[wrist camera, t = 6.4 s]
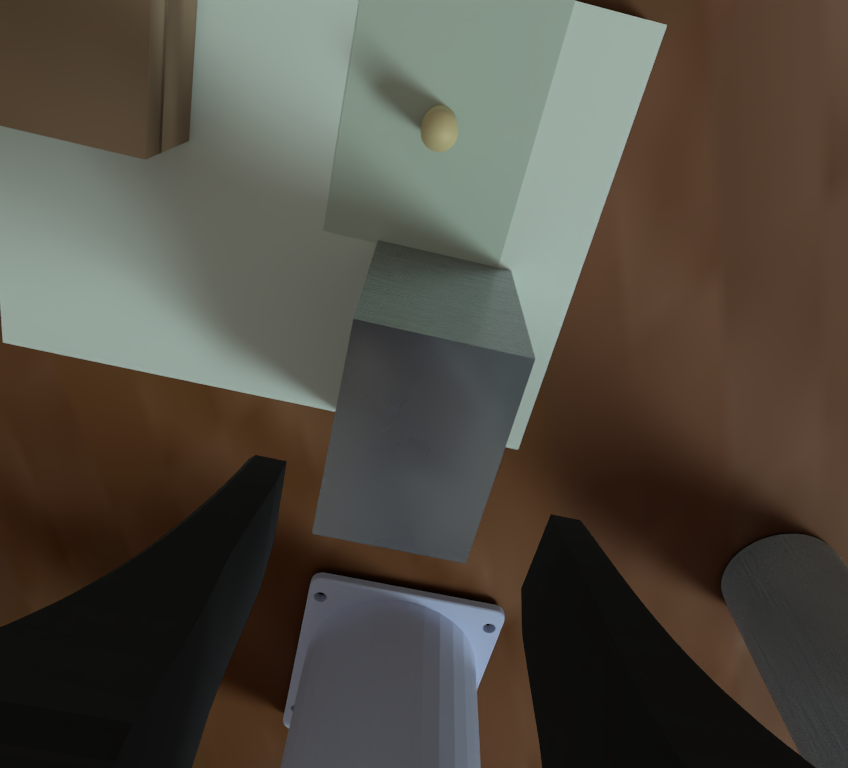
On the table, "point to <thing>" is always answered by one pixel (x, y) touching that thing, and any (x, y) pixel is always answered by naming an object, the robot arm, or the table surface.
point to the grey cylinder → (797, 636)
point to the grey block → (424, 403)
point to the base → (325, 185)
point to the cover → (99, 71)
